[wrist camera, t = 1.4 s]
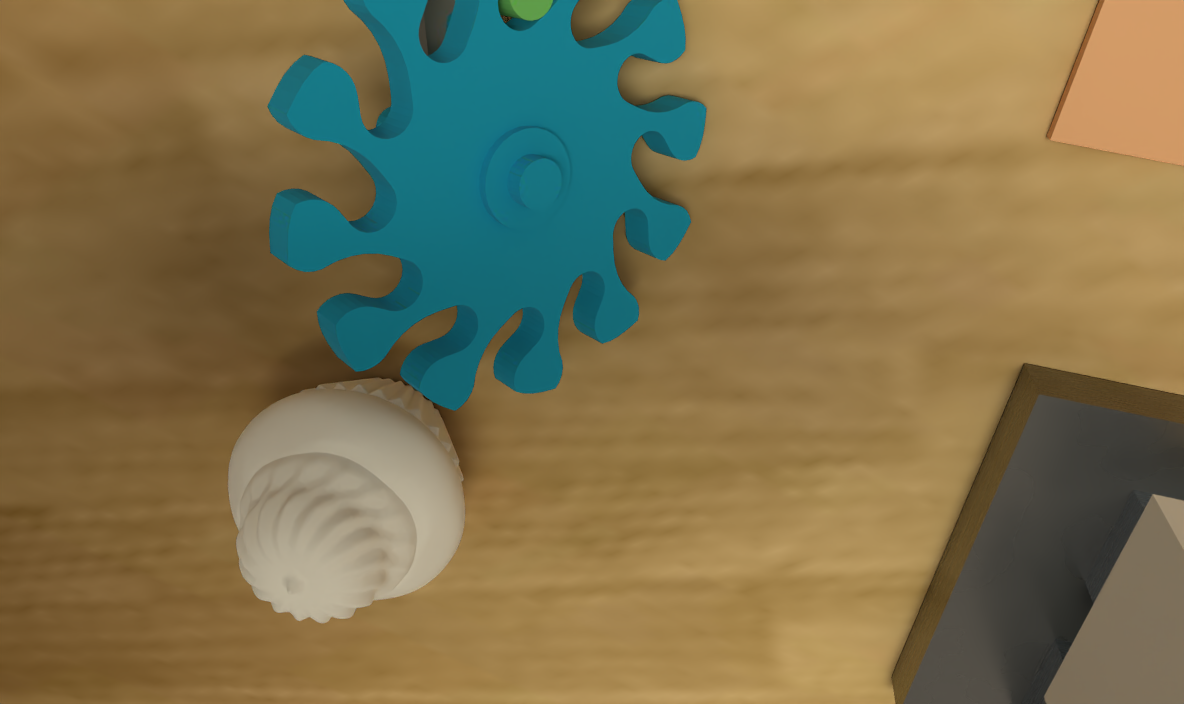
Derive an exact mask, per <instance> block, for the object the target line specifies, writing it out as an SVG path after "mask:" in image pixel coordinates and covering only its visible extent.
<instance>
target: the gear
mask: <svg viewBox="0 0 1184 704" xmlns="http://www.w3.org/2000/svg"><path fill="white" fill-rule="evenodd" d="M578 1H579V0H344V2H345V3H346V5H347V6H348V8H349V9H350V10H351V11H352V12H353V13H354V14H355V15H357V16H358V17H359V18H360V19H361V20H362V21H363V22H364V24H365V25H366V26H367V27H368V29H369V30H370V31H371V32H372V34H373V36H374V38H375V39H376V41H377V43H378V45H379V46H380V49H381V52H382V54H383V57H384V59H385V63H386V68H387V72H388V77H389V84H390V91H391V107H388V108H387V109H385V110H384V111H383V112H382V113H381V114H380V116H379V118H378V120H377V124H376V128H374V129H371V130H367V129H366V128H365V126H364V124H363V122H362V119H361V115H360V108H359V102H358V95H357V91H356V87H355V85H354V83H353V81H352V79H351V77H350V76H349V75H348V73H347V72H346V71H344V70H343V69H342V68H341V67H339V66H337V65H335V64H333V63H330V62H327V61H324V60H321V59H318V58H315V57H312V56H308V55H303V56H302V57H301V58H299V59H298V60H297V61H296V62H294V63H293V65H292V66H291V67H290V68H289V69H288V71H287V72H286V73H285V74H284V76H283V78H282V79H281V81H280V83H279V84H278V86H277V88H276V90H275V92H274V94H273V96H272V98H271V100H270V102H269V104H268V106H267V107H268V109H269V111H270V113H271V115H272V116H273V117H274V118H275V119H276V121H277V122H278V123H280V124H281V125H283V126H284V127H286V128H288V129H290V130H292V131H294V132H296V133H298V134H300V135H302V136H305V137H307V138H310V139H313V140H321V141H330V142H334V143H338V144H340V145H341V146H343V147H344V148H346V149H347V150H348V151H350V153H351V154H352V155H353V156H354V157H355V158H356V159H357V160H358V161H359V162H360V163H361V165H362V166H363V167H364V168H365V169H366V171H367V172H368V173H369V174H370V176H371V177H372V179H373V181H374V183H375V186H376V198H375V202H374V204H373V206H372V208H371V209H370V211H369V212H368V213H367V214H366V215H365V216H364V217H362V218H360V219H358V220H355V221H347V220H346V219H345V217H344V216H343V215H342V214H341V213H340V212H339V210H337V209H336V208H335V207H334V206H333V205H331V204H330V203H328V202H326V201H324V200H322V199H321V198H319V197H317V196H315V195H313V194H312V193H310V192H308V191H305V190H302V189H288V190H283V191H281V192H279V193H277V194H276V197H275V200H274V202H273V205H272V209H271V215H270V227H269V238H270V253H271V254H273V255H274V256H276V257H277V258H278V259H280V260H281V261H283V262H284V263H286V264H287V265H288V266H290V267H292V268H294V269H296V270H299V271H303V272H314V271H317V270H321V269H323V268H325V267H327V266H329V265H331V264H332V263H334V262H336V261H339V260H341V259H344V258H347V257H350V256H355V255H360V254H384V255H389V256H394V257H398V258H400V260H401V263H402V269H403V270H402V277H401V280H400V282H399V284H398V285H397V287H396V288H395V289H394V290H393V291H392V292H391V293H390V294H388V295H386V296H384V297H381V298H370V297H365V296H361V295H357V294H351V293H344V294H339V295H336V296H333V297H332V298H330V299H328V300H327V301H326V302H325V303H323V304H322V305H321V307H320V308H319V309H318V311H317V316H318V323H319V325H320V328H321V331H322V334H323V335H324V337H325V339H326V341H327V343H328V344H329V346H330V347H331V349H332V350H333V351H334V353H335V354H336V356H337V357H338V358H340V359H341V360H342V361H343V362H345V363H346V364H347V365H348V366H350V367H351V368H352V369H353V370H355V371H356V372H357V371H365V370H367V369H370V368H372V367H374V366H375V365H377V364H378V363H380V362H381V361H382V360H383V359H384V357H385V356H386V355H387V353H388V352H389V350H390V349H391V347H392V346H393V344H394V343H395V342H396V341H397V340H398V339H399V338H400V336H401V335H402V334H403V333H404V332H406V331H407V330H408V329H409V328H410V327H411V326H413V325H414V324H415V323H417V322H418V321H420V320H422V319H423V318H425V317H427V316H429V315H431V314H434V313H436V312H438V311H441V310H444V309H447V308H450V307H453V306H457V310H458V313H457V319H456V322H455V324H454V326H453V327H452V329H451V330H450V331H449V332H448V333H447V334H446V335H444V336H442V337H440V338H438V339H435V340H433V341H430V342H427V343H424V344H422V345H420V346H418V347H416V348H415V349H414V350H412V351H411V353H410V354H409V355H408V356H407V357H406V359H405V360H404V362H403V365H402V367H401V371H400V375H401V377H402V378H403V379H404V380H405V381H406V382H407V383H408V384H410V385H411V386H412V387H414V388H415V389H416V390H418V391H419V392H420V393H422V394H423V395H424V396H425V397H427V398H428V399H430V400H431V401H432V402H434V403H436V404H438V405H440V406H443V407H446V408H448V409H451V410H454V411H455V410H457V409H458V408H459V407H461V406H462V405H463V404H464V403H465V402H466V401H467V399H468V398H469V396H470V394H471V392H472V389H473V387H474V381H475V375H476V371H477V368H478V365H479V362H480V359H481V357H482V355H483V353H484V351H485V349H486V347H487V345H488V344H489V342H490V341H491V339H492V338H493V336H494V335H495V334H496V333H497V332H498V330H499V329H500V328H501V327H502V326H503V325H504V324H505V323H506V322H507V321H508V319H509V318H510V317H511V316H512V315H513V314H514V313H516V312H517V311H518V310H520V309H522V308H523V317H522V321H521V323H520V325H519V327H518V329H517V330H516V331H515V332H514V334H513V335H512V336H511V337H510V338H509V339H508V340H507V341H506V342H505V343H504V344H503V345H502V347H501V348H500V349H499V351H498V353H497V355H496V357H495V360H494V367H493V368H494V375H495V378H496V379H498V380H499V381H501V382H502V383H504V384H505V385H507V386H508V387H510V388H511V389H513V390H514V391H516V392H520V393H539V392H544V391H548V390H551V389H555V388H556V386H557V385H558V383H559V381H560V378H561V376H562V370H563V364H562V359H561V356H560V353H559V346H558V327H559V321H560V316H561V313H562V309H563V306H564V303H565V301H566V298H567V295H568V293H569V290H570V288H571V286H572V284H573V282H574V281H575V279H576V278H578V277H579V276H580V275H581V274H582V276H583V279H582V285H581V288H580V291H579V293H578V296H577V299H576V301H575V305H574V308H573V320H574V324H575V326H576V327H577V329H578V330H579V331H580V332H582V333H584V334H586V335H588V336H589V337H591V338H593V339H595V340H597V341H599V342H600V343H602V344H603V343H606V342H608V341H611V340H613V339H614V338H616V337H618V336H619V335H621V334H622V333H623V332H625V331H626V330H627V329H628V328H630V327H631V326H632V325H633V324H634V323H635V322H636V321H638V316H639V306H638V303H637V300H636V299H635V297H634V296H633V295H632V294H630V293H629V292H628V291H627V290H626V288H625V287H624V286H623V284H622V283H621V281H620V279H619V276H618V274H617V271H616V267H615V262H614V253H613V231H614V227H615V224H616V222H617V220H618V219H619V217H620V216H621V215H622V214H623V213H624V212H625V227H626V237H627V240H628V242H629V244H630V245H631V246H632V247H633V248H634V249H636V250H638V251H641V252H643V253H645V254H648V255H650V256H652V257H655V258H657V259H660V260H666V259H667V258H668V257H669V256H670V255H671V254H672V253H673V252H674V250H675V249H676V248H677V246H678V245H679V243H680V242H681V240H682V238H683V237H684V235H685V233H686V231H687V229H688V227H689V225H690V223H691V220H690V216H689V214H688V212H687V211H686V210H685V209H684V208H683V207H681V206H678V205H676V204H673V203H670V202H667V201H665V200H662V199H659V198H656V197H652V196H651V195H650V194H649V193H648V192H647V191H646V190H645V188H644V187H643V185H642V184H641V183H640V181H639V179H638V177H637V175H636V174H635V172H634V170H633V167H632V163H631V154H632V149H633V147H634V144H635V143H636V141H637V140H638V138H639V137H640V136H641V135H642V136H643V138H644V140H645V142H646V144H647V145H648V146H649V148H650V149H651V150H653V151H655V152H657V153H660V154H663V155H666V156H670V157H673V158H676V159H679V160H691V159H693V158H695V157H696V155H697V152H698V150H699V148H700V144H701V141H702V137H703V132H704V126H705V118H706V109H707V108H706V107H705V106H704V105H703V104H701V103H699V102H696V101H692V100H688V99H684V98H680V97H676V96H670V95H667V96H663V97H661V98H659V99H657V100H655V101H653V102H651V103H648V104H645V105H639V106H634V105H632V104H630V103H628V102H626V101H625V100H624V99H623V98H622V97H621V95H620V93H619V91H618V86H617V79H618V73H619V70H620V68H621V66H622V64H623V62H624V61H625V60H626V59H627V58H628V57H629V56H634V57H636V58H641V59H645V60H650V61H655V62H659V63H670V62H673V61H674V60H676V59H677V58H679V57H680V56H681V55H682V53H683V52H684V51H685V40H686V38H685V28H684V23H683V19H682V14H681V11H680V8H679V4H678V1H677V0H631V1H630V2H629V3H628V5H627V6H626V8H625V9H624V11H623V12H622V14H621V15H620V16H619V17H618V18H617V19H616V21H615V22H614V23H613V24H612V25H610V26H609V27H608V28H607V29H605V30H604V31H603V32H601V33H599V34H597V35H596V36H594V37H591V38H588V39H585V40H581V41H575V39H574V37H573V35H572V31H571V15H572V12H573V9H574V7H575V5H576V4H577V2H578ZM500 15H503V16H508V17H513V18H512V19H511V20H509V21H508V22H507V23H504V22H503V20H502V18H501V16H500Z"/></svg>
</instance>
